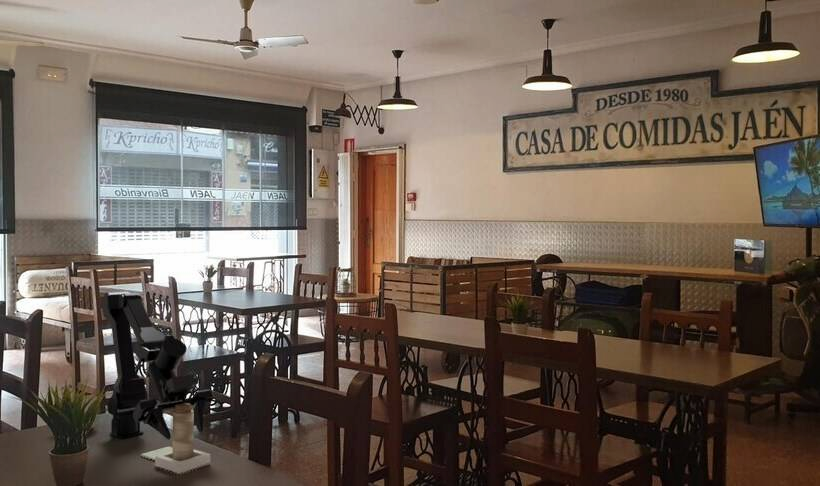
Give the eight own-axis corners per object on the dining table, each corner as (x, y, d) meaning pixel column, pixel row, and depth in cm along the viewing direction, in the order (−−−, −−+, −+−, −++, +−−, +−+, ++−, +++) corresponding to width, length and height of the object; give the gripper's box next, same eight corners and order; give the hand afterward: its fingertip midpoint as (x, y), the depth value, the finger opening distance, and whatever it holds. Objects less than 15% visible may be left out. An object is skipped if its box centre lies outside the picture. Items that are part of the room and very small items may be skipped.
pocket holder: (186, 456, 181) (186, 447, 180) (210, 464, 175) (210, 454, 175) (155, 466, 173) (155, 456, 173) (178, 474, 168) (178, 464, 168)
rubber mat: (168, 448, 187) (168, 446, 187) (188, 455, 182) (188, 452, 182) (141, 456, 180) (141, 454, 180) (160, 463, 176) (160, 460, 176)
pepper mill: (184, 461, 178) (185, 401, 177) (197, 465, 175) (198, 404, 174) (168, 466, 174) (168, 405, 173) (180, 470, 171) (181, 408, 170)
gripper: (138, 366, 170) (159, 423, 162) (211, 357, 183) (233, 409, 175) (124, 394, 176) (143, 450, 168) (195, 383, 189) (216, 434, 181)
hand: (185, 435), depth 173 cm, fingers open, 8 cm apart
